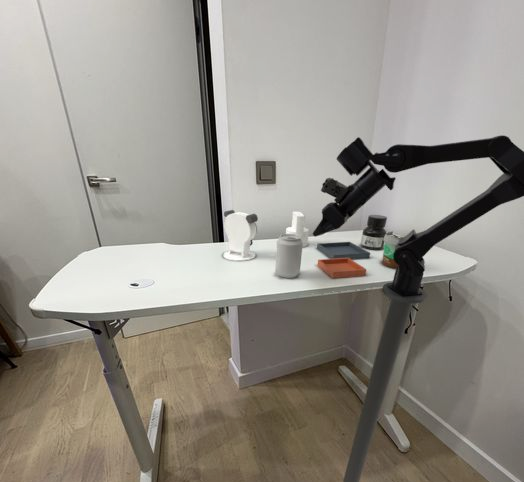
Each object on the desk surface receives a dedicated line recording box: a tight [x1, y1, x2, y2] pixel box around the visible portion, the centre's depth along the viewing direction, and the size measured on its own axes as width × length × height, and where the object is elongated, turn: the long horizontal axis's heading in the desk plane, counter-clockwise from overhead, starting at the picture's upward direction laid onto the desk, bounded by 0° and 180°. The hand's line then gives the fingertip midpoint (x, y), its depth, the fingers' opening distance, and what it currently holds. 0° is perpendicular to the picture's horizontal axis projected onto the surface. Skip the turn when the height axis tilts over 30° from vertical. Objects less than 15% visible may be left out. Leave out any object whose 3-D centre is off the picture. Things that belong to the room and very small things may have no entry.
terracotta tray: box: [316, 258, 368, 279], centre depth 93 cm, size 11×11×2 cm
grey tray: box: [316, 241, 371, 260], centre depth 109 cm, size 14×14×2 cm
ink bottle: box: [360, 214, 388, 251], centre depth 114 cm, size 10×9×12 cm
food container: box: [381, 231, 403, 270], centre depth 96 cm, size 12×6×10 cm, turn 17°
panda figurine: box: [223, 209, 259, 262], centre depth 100 cm, size 12×11×15 cm
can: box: [275, 233, 303, 279], centre depth 86 cm, size 8×8×12 cm
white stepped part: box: [285, 211, 310, 248], centre depth 115 cm, size 9×9×12 cm
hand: (318, 231), depth 82 cm, fingers open, 9 cm apart
